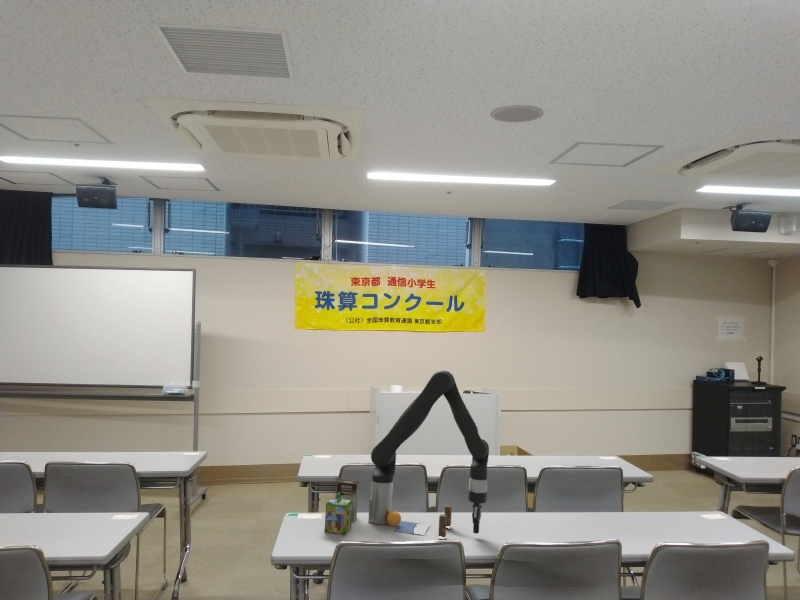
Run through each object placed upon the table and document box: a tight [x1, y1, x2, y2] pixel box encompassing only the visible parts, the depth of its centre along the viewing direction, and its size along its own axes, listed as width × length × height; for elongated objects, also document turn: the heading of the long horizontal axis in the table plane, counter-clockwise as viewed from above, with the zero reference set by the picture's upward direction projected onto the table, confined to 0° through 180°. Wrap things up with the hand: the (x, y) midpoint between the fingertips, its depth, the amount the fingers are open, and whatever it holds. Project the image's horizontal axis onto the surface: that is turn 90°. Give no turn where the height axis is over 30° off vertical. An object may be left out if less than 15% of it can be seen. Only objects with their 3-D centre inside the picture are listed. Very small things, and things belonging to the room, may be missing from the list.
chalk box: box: [324, 492, 353, 535], centre depth 210 cm, size 9×9×15 cm
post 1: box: [438, 513, 447, 537], centre depth 206 cm, size 3×3×9 cm
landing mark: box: [393, 520, 420, 535], centre depth 216 cm, size 13×13×1 cm
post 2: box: [443, 504, 453, 526], centre depth 219 cm, size 3×3×9 cm
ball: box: [387, 510, 402, 527], centre depth 218 cm, size 6×6×6 cm
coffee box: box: [335, 478, 360, 523], centre depth 224 cm, size 9×6×16 cm
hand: (476, 532), depth 209 cm, fingers closed
